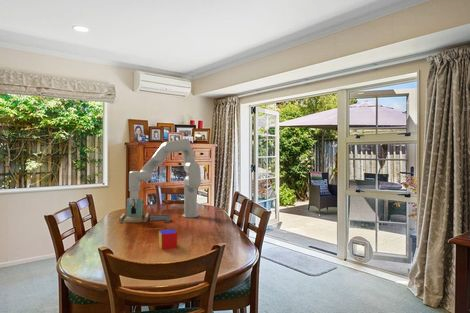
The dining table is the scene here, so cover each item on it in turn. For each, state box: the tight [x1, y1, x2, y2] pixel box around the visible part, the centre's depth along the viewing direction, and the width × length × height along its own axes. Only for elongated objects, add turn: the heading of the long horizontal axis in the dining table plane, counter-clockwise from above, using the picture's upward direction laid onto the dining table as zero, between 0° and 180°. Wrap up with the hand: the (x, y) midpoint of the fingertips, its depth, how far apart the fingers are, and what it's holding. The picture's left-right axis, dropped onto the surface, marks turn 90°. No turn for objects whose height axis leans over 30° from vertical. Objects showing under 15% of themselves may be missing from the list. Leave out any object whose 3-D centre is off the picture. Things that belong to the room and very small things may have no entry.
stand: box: [149, 214, 171, 223], centre depth 224 cm, size 8×14×4 cm, turn 100°
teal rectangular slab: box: [126, 197, 143, 216], centre depth 223 cm, size 2×10×15 cm, turn 100°
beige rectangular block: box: [124, 216, 143, 223], centre depth 218 cm, size 5×12×3 cm, turn 100°
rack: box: [118, 212, 150, 224], centre depth 223 cm, size 16×18×4 cm
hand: (134, 212), depth 223 cm, fingers open, 9 cm apart
